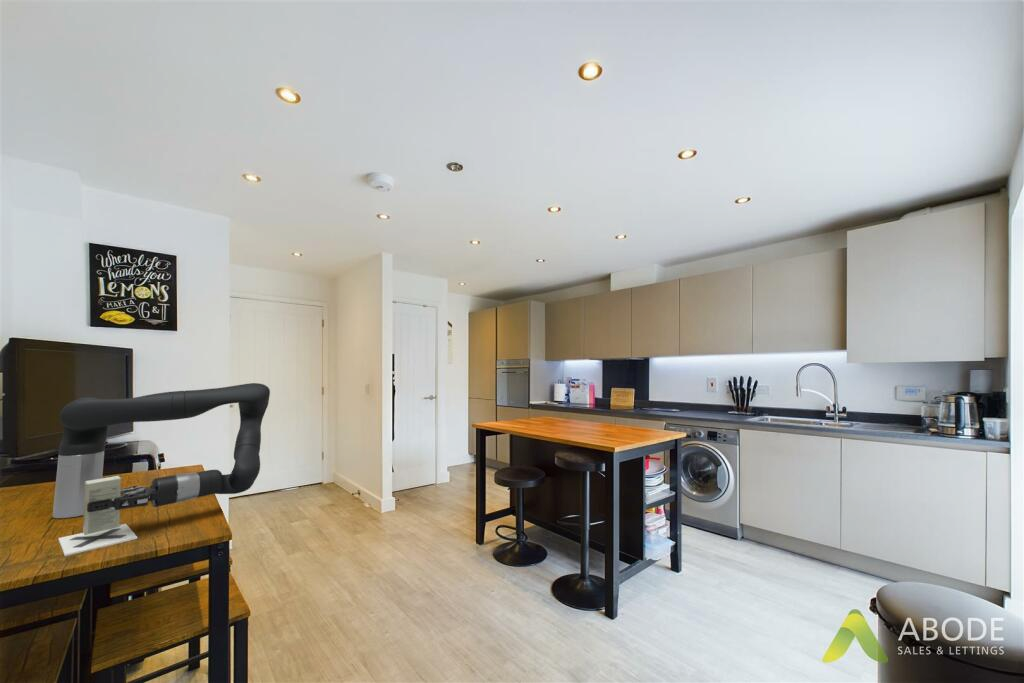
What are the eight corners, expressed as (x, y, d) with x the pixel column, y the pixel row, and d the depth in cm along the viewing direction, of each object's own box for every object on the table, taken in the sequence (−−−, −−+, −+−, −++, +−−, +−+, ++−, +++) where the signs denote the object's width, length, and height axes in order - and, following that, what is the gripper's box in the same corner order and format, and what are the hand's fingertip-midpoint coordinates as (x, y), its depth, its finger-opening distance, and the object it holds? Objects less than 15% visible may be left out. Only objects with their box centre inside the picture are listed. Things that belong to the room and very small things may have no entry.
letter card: (58, 539, 97) (58, 537, 97) (125, 525, 107) (125, 523, 107) (64, 556, 89) (65, 554, 89) (137, 538, 98) (137, 536, 98)
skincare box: (117, 523, 102) (120, 474, 103) (119, 527, 99) (123, 477, 100) (80, 531, 97) (84, 480, 98) (82, 536, 94) (86, 483, 95)
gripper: (169, 470, 115) (82, 484, 101) (184, 479, 106) (91, 495, 92) (168, 497, 114) (80, 514, 100) (182, 508, 105) (89, 528, 92)
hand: (86, 505), depth 96 cm, fingers closed on skincare box, 4 cm apart
